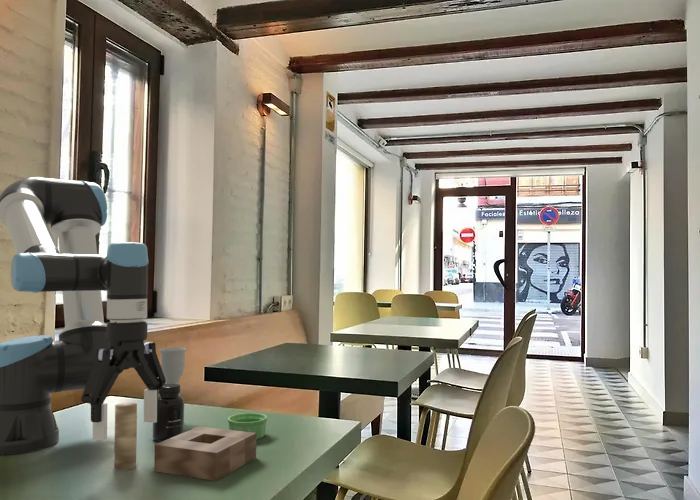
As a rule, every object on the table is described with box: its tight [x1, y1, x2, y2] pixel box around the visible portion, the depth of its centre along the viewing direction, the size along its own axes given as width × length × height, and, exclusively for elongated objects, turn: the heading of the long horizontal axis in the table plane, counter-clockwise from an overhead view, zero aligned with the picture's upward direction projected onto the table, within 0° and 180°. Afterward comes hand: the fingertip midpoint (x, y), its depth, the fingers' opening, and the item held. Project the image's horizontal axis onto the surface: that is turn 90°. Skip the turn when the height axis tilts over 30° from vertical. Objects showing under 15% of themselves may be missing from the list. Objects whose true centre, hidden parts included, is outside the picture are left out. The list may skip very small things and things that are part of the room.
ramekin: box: [227, 412, 268, 441], centre depth 134 cm, size 9×9×4 cm
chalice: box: [159, 346, 187, 384], centre depth 150 cm, size 7×7×18 cm
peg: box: [113, 402, 138, 471], centre depth 113 cm, size 4×4×12 cm
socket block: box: [153, 426, 257, 482], centre depth 115 cm, size 14×14×5 cm
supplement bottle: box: [152, 383, 185, 442], centre depth 133 cm, size 7×7×12 cm
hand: (126, 430), depth 113 cm, fingers open, 13 cm apart
